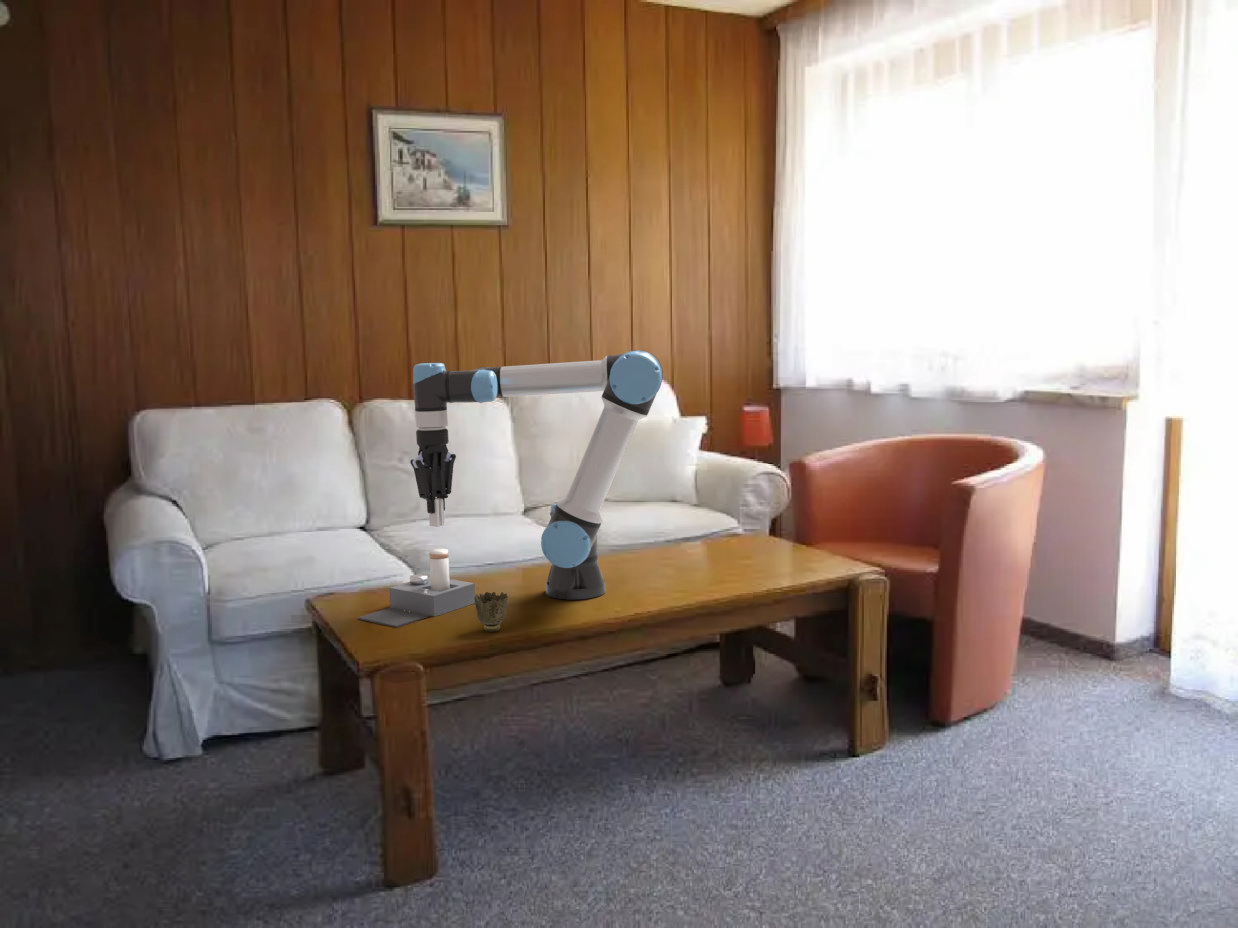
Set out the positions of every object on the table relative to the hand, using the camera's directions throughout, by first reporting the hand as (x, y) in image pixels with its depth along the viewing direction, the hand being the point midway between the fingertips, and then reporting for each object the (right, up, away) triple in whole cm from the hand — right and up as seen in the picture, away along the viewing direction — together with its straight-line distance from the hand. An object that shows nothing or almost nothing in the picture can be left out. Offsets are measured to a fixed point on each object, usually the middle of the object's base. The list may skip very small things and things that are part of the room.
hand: (437, 525), depth 254 cm
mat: (-9, -21, -7) cm, 24 cm away
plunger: (-5, -19, +6) cm, 21 cm away
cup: (+15, -23, -18) cm, 33 cm away
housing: (-2, -20, +4) cm, 20 cm away
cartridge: (+1, -20, +2) cm, 20 cm away
